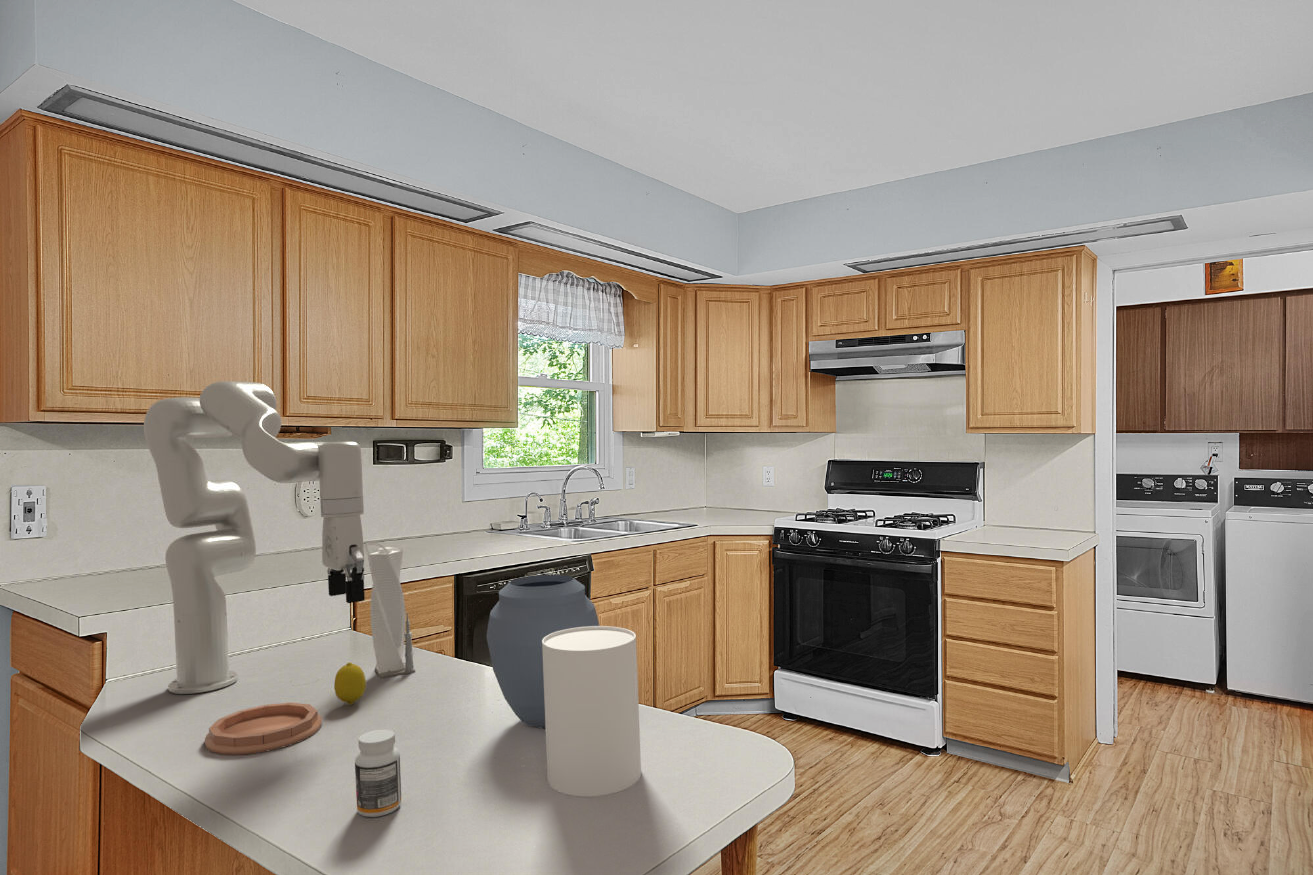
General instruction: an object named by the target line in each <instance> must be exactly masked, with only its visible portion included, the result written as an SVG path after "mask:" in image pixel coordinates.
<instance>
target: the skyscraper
mask: <svg viewBox="0 0 1313 875" xmlns="http://www.w3.org/2000/svg"><path fill="white" fill-rule="evenodd" d="M363 545H364V550H365V552H366V555H367V560H368V565H369V570H370V574H371V581H372V587H371V593H370V594H371V595H370V607H369V608H370V609H369V610H370V613H369V614H370V628H371V637H372V642H373V643H372V644H373V649H374V654H375V655H374V656H375V660H376V663H375V666H374V670H375V672H376V674H377V675H378V676H379V677H380V678H381V679H383V678H389V677H396V676H399V675H404V674H412V673H415V672H416V669H415V666H414V660H413V659H414V658H413V657H414V651H413V641H412V636H413V635H412V634H413V632H411V629H410V623H411V622H410V621H411V620H409V612H406V605H405V604H406V603H405V597H404V596H405V595H404V591H403V588H402V584H401V581H400V577H401V569H402V562H403V552H404V550H403V548H402V547H399V546H384V545H382V544H380V543H378V542H366V543H365V544H363ZM368 546H377V547H379V548H378V549H377V551H376V552H372V553H369V549H368ZM404 645H405V646H404ZM404 647H405V648H404ZM403 655H404V657H405V662H403Z"/></svg>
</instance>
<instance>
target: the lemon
mask: <svg viewBox="0 0 1313 875" xmlns="http://www.w3.org/2000/svg"><path fill="white" fill-rule="evenodd" d="M334 678H335V679H334V683H333V684H334V688H333V689H334V692H335V695H336V697H337V699H339V700H340V701H341V702H343V703H346V704H348V705H349V706H352V705H354V703H355V702H356V701H358V700H359V699H360V698H362V696H363V695H364V693H365V690H366V684H367V680H366V676H365V673H364V670H363V669H362V668H361V667H360V666H359V665H357V664H354V663H352V662H347V663H346V664H345V665H343V666H342V667H340V668H339V669H338V670H337V672H336V675H335V677H334Z"/></svg>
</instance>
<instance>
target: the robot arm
mask: <svg viewBox="0 0 1313 875" xmlns="http://www.w3.org/2000/svg"><path fill="white" fill-rule="evenodd" d="M143 421H144V422H143V434H144V437H145V442H146V446H147V447H148V450H149V452H150V454H151V457H152V459H153V462H154V464H155V467H156V468H155V469H156V473H157V478H158V483H159V488H160V493H161V499H162V504H163V509H164V513H165V516H166V519H167V521H168V522H169V524H170V525H171V526H172V527H174V528H177V529H193V528H199V527H207V526H215V529H216V530H214V531H211V530H210V531H203V532H197V533H192V534H187V535H184V536H181V537H179V538H178V537H177V539H175V540H173V541H172V542H171V543H170V544H169V546H168V547H167V549H166V550H165V551H166V552H165V556H164V557H165V558H164V559H165V565H166V570H167V573H168V576H169V580H170V585H171V592H172V593H171V594H172V604H173V622H174V642H175V643H174V644H175V645H174V646H175V665H176V668H175V669H176V679H174V680H172V681H171V682H170V683H169V684H168V686H167V687H168V691H169V692H170V693H172V694H177V695H190V694H199V693H201V694H202V693H205V692H211V691H215V690H219V689H222V688H225V687H228V686H230V685H232V684H234V683H235V682H236V681H238V678H239V677H238V673H237V672H236V671H233V670H230V663H229V662H230V661H229V660H230V659H229V638H228V637H229V636H228V634H229V633H228V617H227V615H228V614H227V600H226V595H225V592H224V590H223V589H222V587H221V586H220V585H219V583H218V582H217V581H216V579H215V577H219V576H223V575H227V574H232V573H237V572H238V573H239V572H240V571H244V570H246V569H248V568H249V567H250V566H251V565H253V564H254V561H255V558H256V553H257V548H256V546H257V545H256V540H255V534H254V528H253V525H252V519H251V514H250V509H249V505H248V504H249V503H248V501H247V498H246V497H247V496H246V495H245V493H244V490H242V488H241V487H240V486H239V485H238V484H237V483H236V482H233V481H231V480H227V479H226V480H225V479H221V480H220V479H219V480H218V479H217V480H208V478H207V475H206V471H205V466H204V465H205V464H204V462H203V461H204V460H203V458H202V457H201V456H200V454H199V452H198V451H197V450H196V449H195V448H194V446H193V445H191V444H190V443H189V442H188V441H187V439H191V438H192V439H194V438H195V439H196V438H197V439H204V438H205V439H207V438H226V437H231V436H234V437H235V438H237V439H238V440H240V441H241V449H242V453H243V456H244V459H245V460H246V462H247V463H248V465H250V467H251V468H252V469H255V470H256V471H257V472H258V473H260V474H261V475H263V476H264V477H265V478H267V479H269V480H271V481H273V482H276V483H280V484H295V483H302V482H304V483H305V482H317V481H318V482H319V497H320V498H319V499H320V500H319V501H320V517H321V518H323V520H322V530H321V531H322V537H321V540H322V541H321V543H322V544H321V546H322V548H321V550H322V552H321V554H322V560H321V561H322V565H323V566H324V567H326V568H327V571H326V572H327V581H328V583H327V584H328V585H327V586H328V588H327V589H328V596H330V597H335V596H341V595H345V602H346V603H347V604H354V603H359V602H364V601H365V598H366V597H365V575H364V571H365V567H364V565H365V564H364V563H365V546H364V545H365V544H364V535H363V527H362V518H361V515H364V514H365V511H364V509H365V508H364V490H363V488H364V487H363V469H362V468H363V467H362V465H363V463H362V462H363V461H362V450H361V446H360V444H359V443H357V442H355V441H334V442H333V441H332V442H327V441H299V442H298V441H297V442H282V441H280V440H279V439H277V438H276V437H277V436H278V434H279V433H280V430H281V426H282V417H281V414H280V413H279V412H278V411H277V399H276V395H275V394H274V392H273V390H272V389H271V388H270V387H268V386H266V385H265V384H263V383H261V382H256V381H255V382H253V381H238V380H237V381H235V380H221V381H216V382H212V383H211V384H208V385H207V386H205V388H204V389H203V390H202V391H201V393H200V395H199V397H189V396H188V397H186V396H185V397H184V396H181V397H179V396H178V397H168V398H164V399H160V400H157V401H156V402H154V403H152V405H151V406H150V407H149V408H148V410H147V411H146V413H145V417H144V420H143Z"/></svg>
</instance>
